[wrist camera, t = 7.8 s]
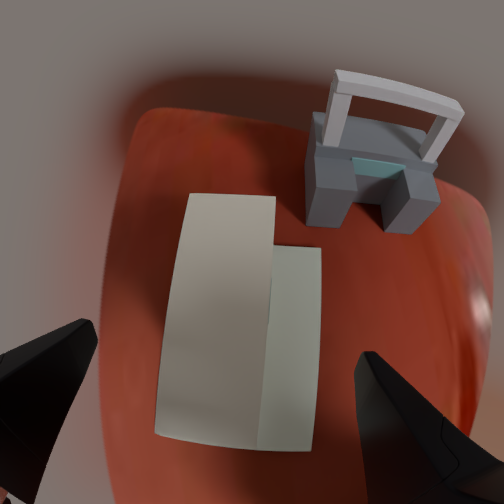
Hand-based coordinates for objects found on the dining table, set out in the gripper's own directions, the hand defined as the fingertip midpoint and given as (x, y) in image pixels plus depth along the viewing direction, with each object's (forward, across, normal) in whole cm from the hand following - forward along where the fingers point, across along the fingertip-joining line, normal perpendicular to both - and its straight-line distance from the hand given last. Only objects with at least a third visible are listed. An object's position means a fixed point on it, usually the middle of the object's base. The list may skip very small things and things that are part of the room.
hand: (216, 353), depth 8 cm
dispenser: (+16, -8, -2) cm, 18 cm away
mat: (+8, 0, +6) cm, 10 cm away
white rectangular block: (+7, 0, +6) cm, 9 cm away
